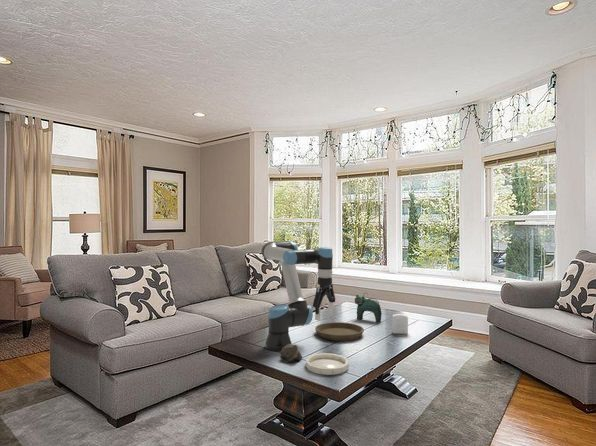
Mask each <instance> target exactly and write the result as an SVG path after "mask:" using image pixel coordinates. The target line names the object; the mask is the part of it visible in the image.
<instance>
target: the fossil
mask: <svg viewBox="0 0 596 446" xmlns="http://www.w3.org/2000/svg"><path fill="white" fill-rule="evenodd" d="M302 359H303V355H302V353H301V352H300V350H299V347H298V345H297V344H294V343H293V344H288V345H286V346H285V347H283V348H282V350H281V351H280V360H281V361H282V362H284V363H286V364H289V363H293V362H294V361H296V360H298V361H301V360H302Z"/></svg>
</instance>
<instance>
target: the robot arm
mask: <svg viewBox="0 0 596 446" xmlns="http://www.w3.org/2000/svg"><path fill="white" fill-rule="evenodd" d="M260 252H261V255H262V257H263V258H264V259H266V260H269V261H277V262H278V265H279V266H281V268H282V275H283V278H284V279H283V280H284V283H285V287H286V293H287V297H288V303H287V304H276V305H274V306H271V307H270V308H269V309H268V313H267V314H268V315H267V318H268V320H267V321H268V323H267V325H268V328H267V329H268V333H267V336H266V340H265V344H264V345H265V349H266V350H269V351H273V352H281V350H282V348H283V347H285V346H286V345H288V344H292V343H293V342H292V341H291V337H290V333H289V332H290V331H289V329H290V328H295V327H303V326H307V325H310V324H311V322H312V321H313V316H314V315H315V316H314V321H321V315H322V314H321V311H322V310H321V309H322V307H321V305H322V302H323V299H324V297H325V296H326V298H327V300H328V303H327V315H334V303H336V296H335V292H334V285H333V278H332V276H333V260H334V259H333V256H334V254H333V248H332V247H328V246H321V247H319V248H318V249H316V248H310V249H298V246H297V243H296V242H294V241H292V240H291V241H290V240H284V241H281V240H280V241H277V240H276V241H274V240H273V241H268V242H267V243H264V245H263V246H262V248H261V251H260ZM307 264H308V265H309V264H311V265H313V264H315V265H316V264H317V285H319V287H316V289H315V295H314V299H313V303H312V305H310V304H308V303H307V300H305V299H304V297H303V292H302V287H301V284H300V279H299V276H298V271H297V270H298V269H297V267H296V265H307ZM312 307H313V308H314V312H313V308H312ZM313 313H314V314H313Z"/></svg>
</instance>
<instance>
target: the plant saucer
mask: <svg viewBox="0 0 596 446" xmlns="http://www.w3.org/2000/svg"><path fill="white" fill-rule="evenodd" d="M314 328H315V333H317V334H318V336H319V337H321V338H323V339H326V340H330V341H337V342H343V341H344V342H345V341H346V342H347V341H353V340H356V339H359V338H360V337H361V336H362V335H363V333H364V332H365V329H364V327H362V325H359V324H356V323H351V322H350V323H349V322H341V321H340V322H339V321H337V322H335V321H334V322H332V321H331V322H324V323H320V324H317V325H316V327H314Z"/></svg>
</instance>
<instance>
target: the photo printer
mask: <svg viewBox="0 0 596 446" xmlns="http://www.w3.org/2000/svg"><path fill="white" fill-rule="evenodd" d="M391 333H392V334H400V335H401V334H402V335H403V334H404V335H408V333H409V317H408V315H406V314H402V313H396V314H392V316H391Z"/></svg>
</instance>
